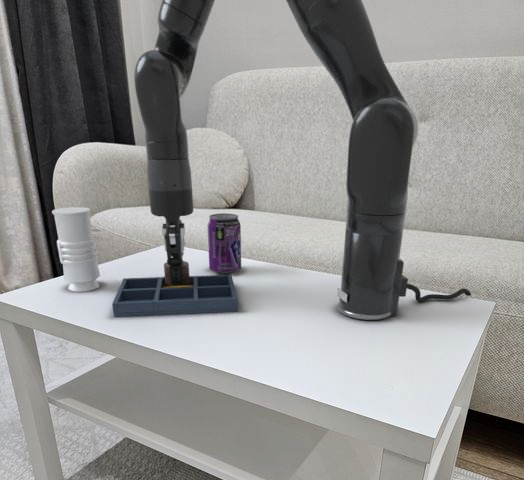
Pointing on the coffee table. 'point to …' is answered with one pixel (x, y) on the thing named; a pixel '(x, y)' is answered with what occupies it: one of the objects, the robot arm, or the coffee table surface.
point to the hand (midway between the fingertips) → (177, 279)
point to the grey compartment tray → (175, 296)
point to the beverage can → (224, 243)
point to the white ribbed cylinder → (77, 248)
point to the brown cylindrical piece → (184, 269)
